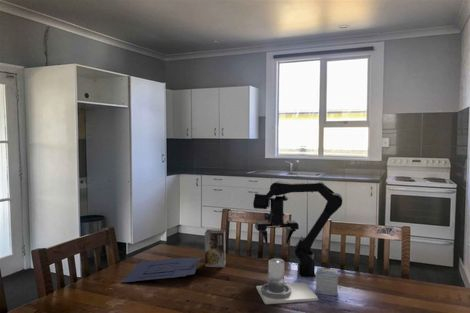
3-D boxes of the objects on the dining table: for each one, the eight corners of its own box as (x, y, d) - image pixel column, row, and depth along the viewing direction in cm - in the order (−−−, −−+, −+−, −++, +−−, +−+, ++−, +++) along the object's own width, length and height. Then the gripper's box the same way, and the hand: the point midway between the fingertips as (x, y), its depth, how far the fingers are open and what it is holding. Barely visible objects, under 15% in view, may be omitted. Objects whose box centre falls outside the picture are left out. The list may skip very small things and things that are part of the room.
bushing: (278, 286, 143) (279, 256, 143) (290, 294, 136) (291, 262, 136) (261, 290, 140) (261, 259, 139) (273, 298, 133) (273, 266, 132)
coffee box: (225, 262, 173) (226, 229, 172) (224, 267, 166) (224, 232, 166) (206, 262, 174) (207, 228, 173) (204, 266, 167) (204, 232, 167)
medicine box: (337, 292, 141) (338, 270, 141) (337, 296, 137) (337, 274, 136) (317, 289, 144) (317, 267, 143) (315, 293, 139) (316, 271, 139)
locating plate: (304, 285, 147) (304, 279, 147) (318, 300, 133) (318, 293, 133) (256, 288, 144) (256, 282, 144) (265, 304, 130) (265, 297, 130)
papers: (194, 282, 146) (193, 273, 146) (121, 289, 148) (120, 280, 148) (202, 262, 171) (201, 254, 170) (139, 268, 172) (138, 260, 172)
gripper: (291, 206, 171) (290, 238, 172) (252, 207, 168) (252, 240, 168) (299, 210, 160) (298, 245, 161) (258, 211, 157) (257, 247, 158)
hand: (276, 244), depth 162 cm, fingers open, 9 cm apart
